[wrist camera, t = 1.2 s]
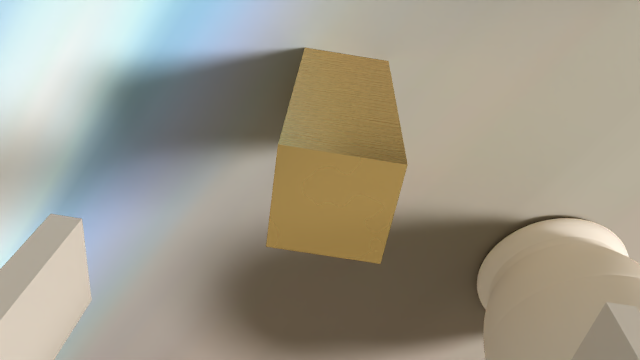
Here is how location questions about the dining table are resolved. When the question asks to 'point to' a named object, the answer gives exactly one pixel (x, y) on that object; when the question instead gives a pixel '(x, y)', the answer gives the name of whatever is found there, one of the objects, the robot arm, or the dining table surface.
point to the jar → (552, 288)
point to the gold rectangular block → (338, 159)
